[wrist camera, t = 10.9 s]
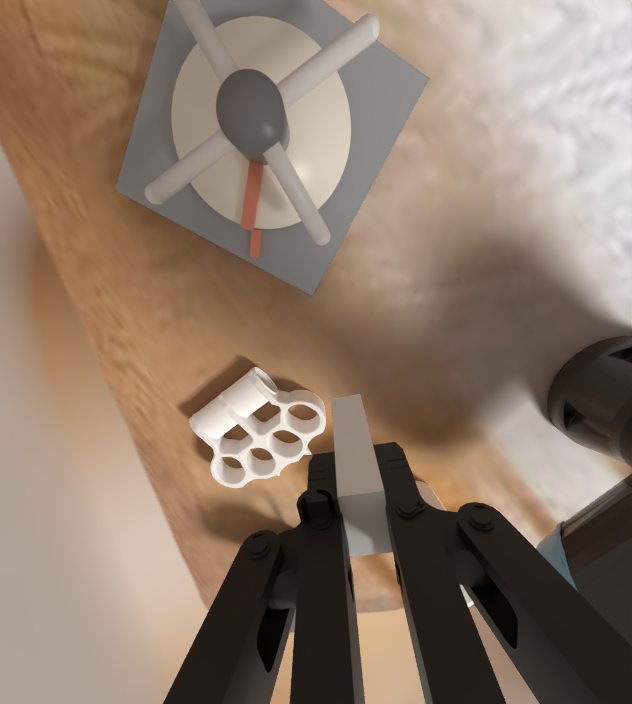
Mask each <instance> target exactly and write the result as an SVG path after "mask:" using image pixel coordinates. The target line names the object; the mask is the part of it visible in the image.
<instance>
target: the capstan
mask: <svg viewBox="0 0 632 704" xmlns="http://www.w3.org/2000/svg"><path fill="white" fill-rule="evenodd" d="M173 2H174V3H175V5H176V7H177V9H178V10H179V12H180V14H181V15H182V17H183V19H184V21H185V22H186V24H187V26H188V27H189V29H190V31H191V33H192V34H193V36H194V38H195V39H196V41H197V44H196V45H195V46H194V48H193V49H192V51H191V52H190V53H189V55H188V56H187V58H186V60H185V62H184V64H183V66H182V67H181V70H180V73H179V75H178V78H177V81H176V85H175V89H174V93H173V100H172V108H171V123H172V132H173V139H174V143H175V148H176V152H177V155H178V158H179V161H178V162H177V163H175V164H174V165H173V166H172V167H170V168H169V169H168V170H167V171H165V172H164V173H163V174H161V175H160V176H159V177H158V178H156V179H155V180H154V181H153V182H151V183H150V184H149V185H147V187H146V188H145V196H146V198H147V200H148V201H149V202H151V203H152V204H155V205H160V204H162V203H164V202H165V201H166V200H168V199H169V198H170V197H172V196H173V195H174V194H176V193H177V192H178V191H179V190H181V189H182V188H183V187H185V186H186V185H187V184H189V183H191V184H192V186H193V187H194V189H195V190H196V191H197V193H198V194H199V195H200V196H201V197H202V199H203V200H204V201H205V202H206V203H207V204H208V205H209V206H211V207H212V208H213V209H214V210H215V211H217V212H218V213H219V214H221V215H223V216H224V217H226V218H227V219H229V220H232V221H234V222H236V223H238V224H241V226H240V228H243V229H247V230H251V231H254V228H258V229H276V228H283V227H287V226H291V225H293V224H296V223H298V222H301V221H302V222H303V224H304V225H305V227H306V229H307V231H308V232H309V234H310V236H311V237H312V239H313V241H314V242H315V243H316V244H317V245H320V246H323V245H326V244H327V243H328V242H329V240H330V237H331V235H330V231H329V229H328V228H327V226H326V224H325V222H324V221H323V219H322V217H321V215H320V213H319V212H318V209H319V208H320V207H321V206H322V205H323V204H324V203H325V202H326V201H327V200H328V198H329V197H330V196H331V194H332V193H333V191H334V190H335V188H336V186H337V184H338V183H339V181H340V178H341V176H342V174H343V171H344V169H345V165H346V162H347V159H348V154H349V148H350V141H351V116H350V110H349V104H348V99H347V96H346V92H345V89H344V86H343V83H342V81H341V79H340V76H339V74H338V72H337V70H338V69H340V68H341V67H342V66H344V65H345V64H346V63H348V62H349V61H350V60H352V59H353V58H354V57H356V56H357V55H358V54H360V53H361V52H362V51H363V50H365V49H366V48H367V47H369V46H370V45H371V44H373V43H374V42H375V41H376V39H377V37H378V35H379V30H380V25H379V21H378V19H377V17H376V16H375V15H373V14H366V15H364V16H363V17H362V18H360V19H359V20H358V21H357V22H355V23H354V24H353V25H352V26H350V27H349V28H348V29H346V30H345V31H344V32H343V33H341V34H340V35H339V36H338V37H336V38H335V39H334V40H332V41H331V42H330V43H329V44H327V45H326V46H325V47H323V48H321V47H320V46H319V45H318V44H317V43H316V42H315V41H314V40H313V39H312V38H311V37H309V36H308V35H307V34H306V33H304V32H303V31H301V30H300V29H298V28H296V27H295V26H293V25H291V24H289V23H286V22H284V21H281V20H279V19H274V18H270V17H263V16H249V17H241V18H237V19H234V20H230V21H227V22H225V23H223V24H221V25H219V26H217V27H216V28H215V27H214V25H213V23H212V22H211V20H210V18H209V16H208V14H207V13H206V11H205V9H204V7H203V6H202V4H201V2H200V0H173Z"/></svg>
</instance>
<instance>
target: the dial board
mask: <svg viewBox="0 0 632 704" xmlns="http://www.w3.org/2000/svg"><path fill="white" fill-rule="evenodd" d="M200 2H201V4H202V6H203V7H204V9H205V11H206V13H207V14H208V16H209V18H210V20H211V22H212V23H213V25H214V27H215V28H216V27H217V26H219V25H221V24H223V23H225V22H227V21H230V20H234V19H237V18H241V17H249V16H263V17H270V18H274V19H279V20H281V21H284V22H286V23H289V24H291V25H293V26H295V27H296V28H298V29H300V30H301V31H303V32H304V33H306V34H307V35H308V36H309V37H311V38H312V39H313V40H314V41H315V42H316V43H317V44H318V45H319V46H320V47H321V48H323V47H325V46H326V45H327V44H329V43H330V42H331V41H332V40H334V39H335V38H336V37H338V36H339V35H340V34H341V33H343V32H344V31H345V30H346V29H348V28H349V27H350V26H352V25H353V24H354V23H352V22H351V21H350V20H348V19H347V18H345V17H344V16H343V15H341V14H340V13H339V12H337V11H336V10H334V9H333V8H332V7H330V6H329V5H327V4H326V3H325V2H323V1H322V0H200ZM196 44H197V41H196V39H195V38H194V36H193V34H192V33H191V31H190V29H189V27H188V26H187V24H186V22H185V21H184V19H183V17H182V15H181V14H180V12H179V10H178V9H177V7H176V5H175V3H174V2H173V0H168V4H167V7H166V11H165V14H164V18H163V22H162V25H161V29H160V32H159V36H158V39H157V43H156V46H155V50H154V54H153V57H152V61H151V64H150V68H149V71H148V75H147V78H146V82H145V85H144V89H143V93H142V96H141V100H140V103H139V107H138V110H137V114H136V117H135V121H134V125H133V128H132V132H131V135H130V139H129V142H128V146H127V149H126V153H125V157H124V160H123V164H122V167H121V171H120V174H119V178H118V181H117V185H116V188H115V191H117V192H119V193H121V194H123V195H125V196H126V197H128V198H130V199H132V200H134V201H136V202H138V203H139V204H141V205H143V206H145V207H147V208H149V209H151V210H153V211H154V212H156V213H158V214H160V215H162V216H164V217H166V218H167V219H169V220H171V221H173V222H175V223H177V224H179V225H180V226H182V227H184V228H186V229H188V230H190V231H192V232H193V233H195V234H197V235H199V236H201V237H203V238H205V239H207V240H208V241H210V242H212V243H214V244H216V245H218V246H220V247H221V248H223V249H225V250H227V251H229V252H231V253H233V254H234V255H236V256H238V257H240V258H242V259H244V260H246V261H247V262H249V263H251V264H253V265H255V266H257V267H259V268H260V269H262V270H264V271H266V272H268V273H270V274H272V275H274V276H275V277H277V278H279V279H281V280H283V281H285V282H287V283H288V284H290V285H292V286H294V287H296V288H298V289H300V290H301V291H303V292H305V293H307V294H309V295H311V296H313V294H314V292H315V290H316V288H317V287H318V285H319V283H320V281H321V279H322V277H323V275H324V274H325V272H326V270H327V268H328V266H329V264H330V262H331V261H332V259H333V257H334V255H335V253H336V251H337V249H338V248H339V246H340V244H341V242H342V240H343V238H344V236H345V235H346V233H347V231H348V229H349V227H350V225H351V223H352V222H353V220H354V218H355V216H356V214H357V212H358V210H359V208H360V207H361V205H362V203H363V201H364V199H365V197H366V195H367V194H368V192H369V190H370V188H371V186H372V184H373V182H374V181H375V179H376V177H377V175H378V173H379V171H380V169H381V168H382V166H383V164H384V162H385V160H386V158H387V156H388V155H389V153H390V151H391V149H392V147H393V145H394V143H395V142H396V140H397V138H398V136H399V134H400V132H401V130H402V129H403V127H404V125H405V123H406V121H407V119H408V117H409V116H410V114H411V112H412V110H413V108H414V106H415V104H416V103H417V101H418V99H419V97H420V95H421V93H422V91H423V90H424V88H425V86H426V84H427V82H428V80H429V78H428V77H427V76H425V75H424V74H423V73H421V72H420V71H418V70H417V69H416V68H414V67H413V66H412V65H410V64H409V63H407V62H406V61H405V60H403V59H402V58H400V57H399V56H398V55H396V54H395V53H394V52H392V51H391V50H389V49H388V48H387V47H385V46H384V45H383V44H381V43H380V42H378V41H377V40H376V41H375V42H374V43H373V44H371V45H370V46H369V47H367V48H366V49H365V50H363V51H362V52H361V53H360V54H358V55H357V56H356V57H354V58H353V59H352V60H350V61H349V62H348V63H346V64H345V65H344V66H342V67H341V68H340V69H338V70H337V72H338V74H339V76H340V79H341V81H342V83H343V86H344V89H345V92H346V96H347V99H348V104H349V110H350V116H351V141H350V148H349V154H348V159H347V162H346V165H345V169H344V171H343V174H342V176H341V178H340V181H339V183H338V184H337V186H336V188H335V190H334V191H333V193H332V194H331V196H330V197H329V198H328V200H327V201H326V202H325V203H324V204H323V205H322V206H321V207H320V208H319V209H318V212H319V213H320V215H321V217H322V219H323V221H324V222H325V224H326V226H327V228H328V229H329V231H330V235H331V237H330V240H329V242H328V243H327V244H326V245H323V246H320V245H317V244H316V243H315V242H314V241H313V239H312V237H311V236H310V234H309V232H308V231H307V229H306V227H305V225H304V224H303V222H302V221H301V222H298V223H296V224H293V225H291V226H287V227H283V228H276V229H258V228H254V231H251V230H247V229H243V228H240V226H241V224H238V223H236V222H234V221H232V220H229V219H227V218H226V217H224V216H223V215H221V214H219V213H218V212H217V211H215V210H214V209H213V208H212V207H211V206H209V205H208V204H207V203H206V202H205V201H204V200H203V199H202V197H201V196H200V195H199V194H198V193H197V191H196V190H195V189H194V187H193V186H192V184H191V183H189V184H187V185H186V186H185V187H183V188H182V189H181V190H179V191H178V192H177V193H176V194H174V195H173V196H172V197H170V198H169V199H168V200H166V201H165V202H164V203H162V204H160V205H155V204H152V203H151V202H149V201H148V200H147V198H146V196H145V188H146V187H147V185H149V184H150V183H151V182H153V181H154V180H155V179H156V178H158V177H159V176H160V175H161V174H163V173H164V172H165V171H167V170H168V169H169V168H170V167H172V166H173V165H174V164H175V163H177V162H178V161H179V158H178V155H177V152H176V148H175V143H174V139H173V132H172V123H171V108H172V100H173V93H174V89H175V85H176V81H177V78H178V75H179V73H180V70H181V67H182V66H183V64H184V62H185V60H186V58H187V56H188V55H189V53H190V52H191V51H192V49H193V48H194V46H195V45H196Z"/></svg>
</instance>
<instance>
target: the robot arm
mask: <svg viewBox="0 0 632 704" xmlns="http://www.w3.org/2000/svg"><path fill="white" fill-rule="evenodd" d="M331 401H332V417H333V433H334V449H335V452H328V453H321V454H314V455H313V457H312V459H311V460H310V462H309V469H308V488H307V490H306V491H305V492H303V493H302V495H301V496H300V497H299V498H298V501H297V504H296V505H297V508H298V512H299V516H300V519H301V523H300V524H299V525H298V526H297V527H295V528H294V529H292V530H290V531H289V532H286V533H284V534H282V535H280V536H277V535H276V534H275V533H274V532H272V531H269V530H262V531H258V532H256V533H254V534H252V535H251V536H249V537H248V538H247V539H246V540H245V541H244V543H243V544H242V546H241V547H240V549H239V551H238V553H237V555H236V557H235V559H234V561H233V563H232V565H231V567H230V569H229V571H228V573H227V576H226V578H225V580H224V582H223V584H222V586H221V588H220V590H219V592H218V594H217V596H216V598H215V600H214V602H213V604H212V606H211V608H210V610H209V612H208V614H207V616H206V618H205V620H204V622H203V624H202V626H201V628H200V630H199V632H198V634H197V636H196V638H195V640H194V642H193V644H192V646H191V648H190V650H189V652H188V654H187V656H186V658H185V660H184V662H183V664H182V666H181V668H180V670H179V672H178V674H177V677H176V678H175V680H174V682H173V685H172V687H171V688H170V691H169V692H168V695H167V697H166V699H165V701H164V703H163V704H270V701H271V697H272V693H273V690H274V686H275V682H276V679H277V675H278V671H279V668H280V664H281V660H282V657H283V653H284V650H285V646H286V642H287V639H288V635H289V632H290V628H291V624H292V621H293V617H294V613H295V610H296V617H295V632H294V648H293V663H292V678H291V695H290V704H365V698H364V688H363V678H362V667H361V657H360V646H359V636H358V626H357V615H356V604H355V594H354V584H353V573H352V569H351V564H350V557H355V556H364V555H372V554H381V553H389V552H393V555H394V560H395V567H396V574H397V581H398V584H399V586H400V590H401V595H402V599H403V604H404V608H405V613H406V617H407V622H408V626H409V630H410V635H411V640H412V644H413V649H414V653H415V658H416V662H417V667H418V671H419V676H420V680H421V685H422V689H423V694H424V698H425V703H426V704H506V701H505V699H504V696H503V694H502V692H501V689H500V686H499V684H498V681H497V679H496V676H495V674H494V671H493V668H492V666H491V663H490V661H489V658H488V656H487V653H486V651H485V648H484V646H483V643H482V641H481V638H480V636H479V633H478V630H477V628H476V625H475V623H474V620H473V618H472V615H471V613H470V610H469V608H468V605H467V603H466V600H465V598H464V595H463V592H462V590H461V587H460V585H463V588H464V589H465V591H466V592H467V594H468V595H469V597H470V598H471V600H472V601H473V603H474V604H475V606H476V607H477V609H478V611H479V612H480V614H481V615H482V617H483V618H484V620H485V621H486V623H487V624H488V626H489V627H490V629H491V630H492V632H493V633H494V635H495V636H496V638H497V639H498V641H499V642H500V644H501V645H502V647H503V649H504V650H505V652H506V653H507V655H508V656H509V658H510V659H511V661H512V662H513V664H514V665H515V667H516V668H517V670H518V671H519V673H520V674H521V676H522V677H523V679H524V680H525V682H526V683H527V685H528V686H529V688H530V690H531V691H532V693H533V694H534V696H535V697H536V699H537V700H538V702H539V703H540V704H632V474H631V475H629V476H628V477H626V478H625V479H624V480H622V481H621V482H620V483H618V484H617V485H615V486H614V487H613V488H611V489H610V490H608V491H607V492H606V493H604V494H603V495H602V496H600V497H599V498H597V499H596V500H595V501H593V502H592V503H590V504H589V505H588V506H586V507H585V508H584V509H582V510H581V511H579V512H578V513H577V514H575V515H574V516H573V517H571V518H570V519H568V520H567V521H566V522H564V521H562V522H560V523H559V524H558V525H557V527H556V529H555V530H554V531H553V532H552V533H550V534H549V535H548V536H547V537H546V538H544V539H543V540H542V541H541V542H540V543H539V544H538V545H537V547H536V549H535V548H534V546H533V545H532V544H531V543H530V542H529V541H528V540H527V539H526V538H525V537H524V536H523V535H522V534H521V533H520V532H519V531H518V530H517V529H516V528H515V527H514V526H513V525H512V524H511V523H510V522H509V521H508V520H507V519H506V518H505V517H504V516H503V515H502V514H501V513H500V512H498V511H497V510H496V509H494V508H493V507H491V506H489V505H486V504H484V503H476V502H473V503H467V504H465V505H463V506H461V507H460V509H459V510H458V512H451V511H444V510H440V509H437V508H435V507H432V506H431V505H429V504H428V503H426V502H425V500H424V499H423V498H422V497H421V495H420V493H419V490H418V487H417V485H416V482H415V480H414V477H413V474H412V472H411V469H410V467H409V464H408V461H407V459H406V456H405V454H404V451H403V449H402V448H401V447H400V446H399V445H398V444H397V443H395V442H392V443H385V444H378V445H373V444H372V439H371V435H370V431H369V427H368V423H367V419H366V415H365V411H364V407H363V403H362V399H361V395H360V394H356V395H349V396H343V397H337V398H331ZM548 412H549V416H550V418H551V420H552V422H553V424H554V425H555V426H556V427H557V428H558V429H559V430H560V431H561V432H562V433H564V434H565V435H566V436H567V437H568V438H570V439H571V440H572V441H574V442H576V443H578V444H579V445H582V446H584V447H587V448H589V449H592V450H594V451H597V452H599V453H602V454H605V455H607V456H610V457H612V458H615V459H617V460H620V461H622V462H625V463H626V464H628V465H629V466H631V467H632V337H617V338H612V339H608V340H604V341H601V342H599V343H596V344H594V345H592V346H590V347H588V348H587V349H585V350H583V351H582V352H580V353H579V354H577V355H576V356H575V357H574V358H572V359H571V360H570V361H569V362H568V363H567V364H566V365H565V366H564V367H563V369H562V370H561V371H560V372H559V374H558V375H557V377H556V379H555V380H554V382H553V384H552V387H551V389H550V392H549V397H548Z"/></svg>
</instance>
